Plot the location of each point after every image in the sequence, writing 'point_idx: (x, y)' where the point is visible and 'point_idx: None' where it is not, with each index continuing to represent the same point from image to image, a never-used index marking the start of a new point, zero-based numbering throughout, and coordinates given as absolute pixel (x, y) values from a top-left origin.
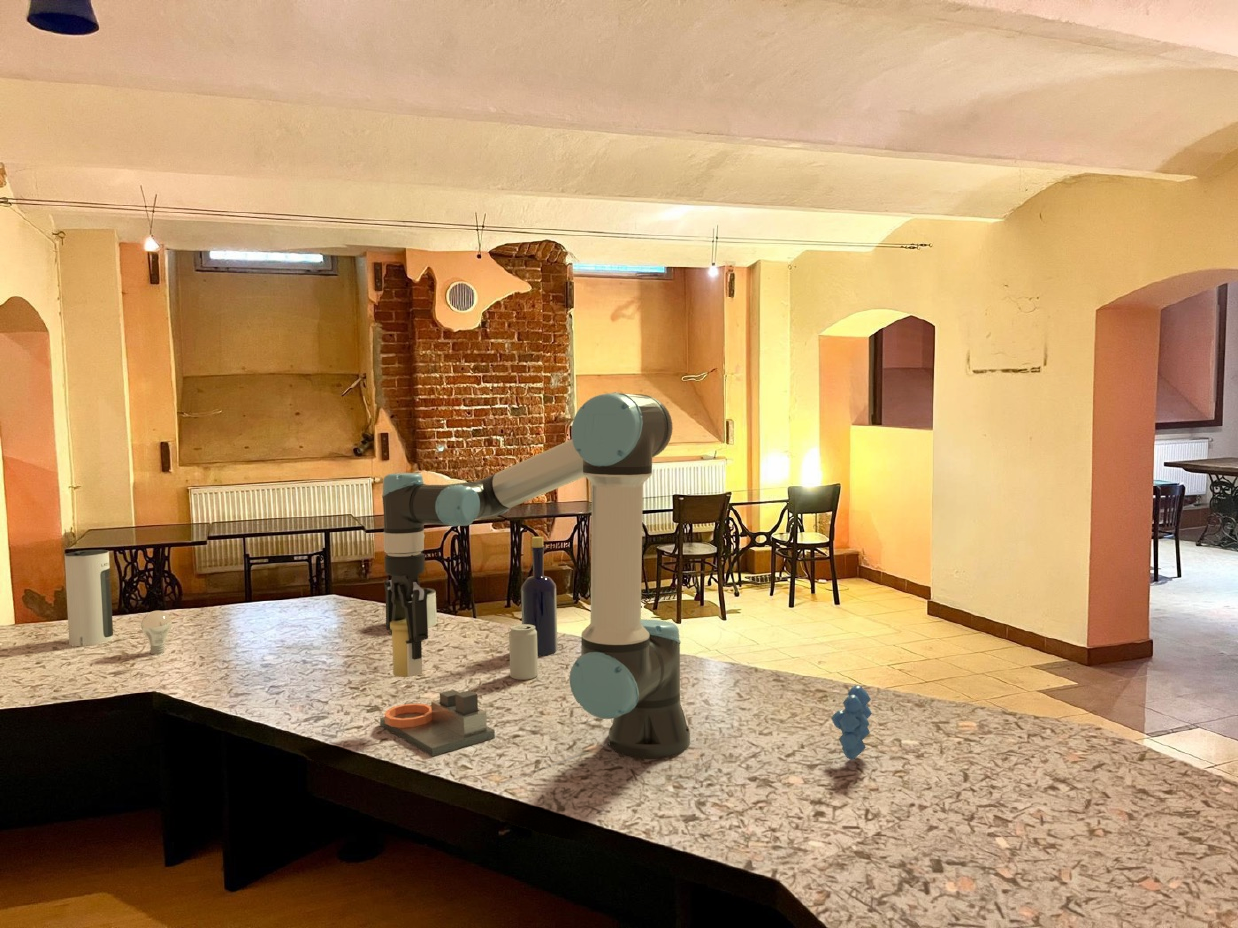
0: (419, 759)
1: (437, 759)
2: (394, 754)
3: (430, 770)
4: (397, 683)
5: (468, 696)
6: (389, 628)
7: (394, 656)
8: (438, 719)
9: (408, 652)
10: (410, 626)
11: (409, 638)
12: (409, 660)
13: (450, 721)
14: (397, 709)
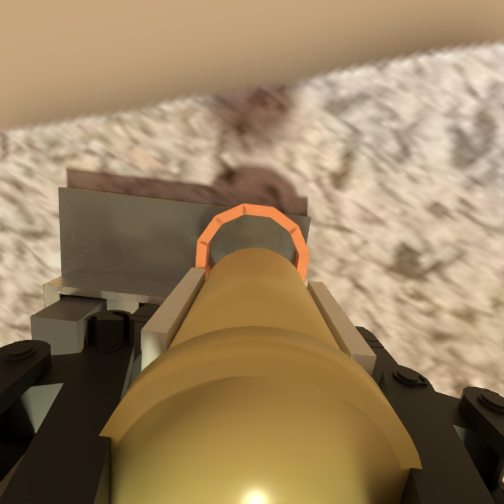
0: (74, 160)
1: (50, 185)
2: (135, 140)
3: (7, 141)
4: (501, 385)
5: (32, 331)
6: (462, 402)
7: (258, 268)
8: None
9: (164, 303)
10: (39, 433)
11: (121, 351)
12: (174, 290)
13: (121, 282)
14: (298, 258)
